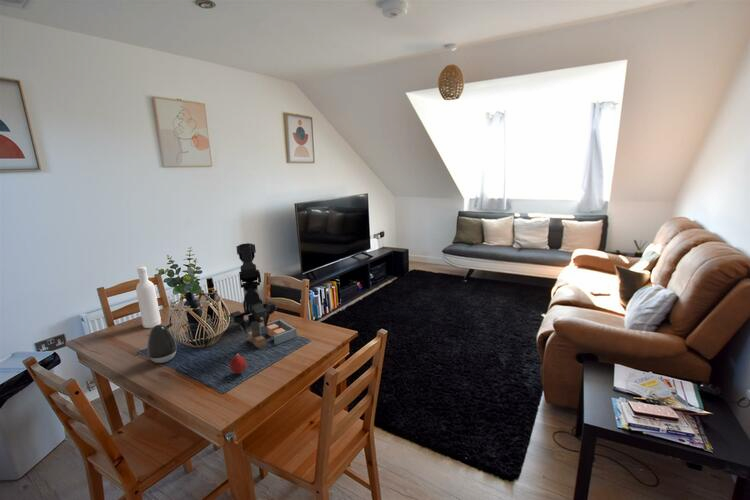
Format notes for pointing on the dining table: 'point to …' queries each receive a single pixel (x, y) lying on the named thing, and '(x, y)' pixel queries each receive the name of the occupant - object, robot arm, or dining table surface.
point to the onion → (238, 364)
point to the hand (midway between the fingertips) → (255, 330)
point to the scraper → (256, 336)
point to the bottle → (147, 300)
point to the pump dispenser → (161, 344)
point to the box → (283, 336)
